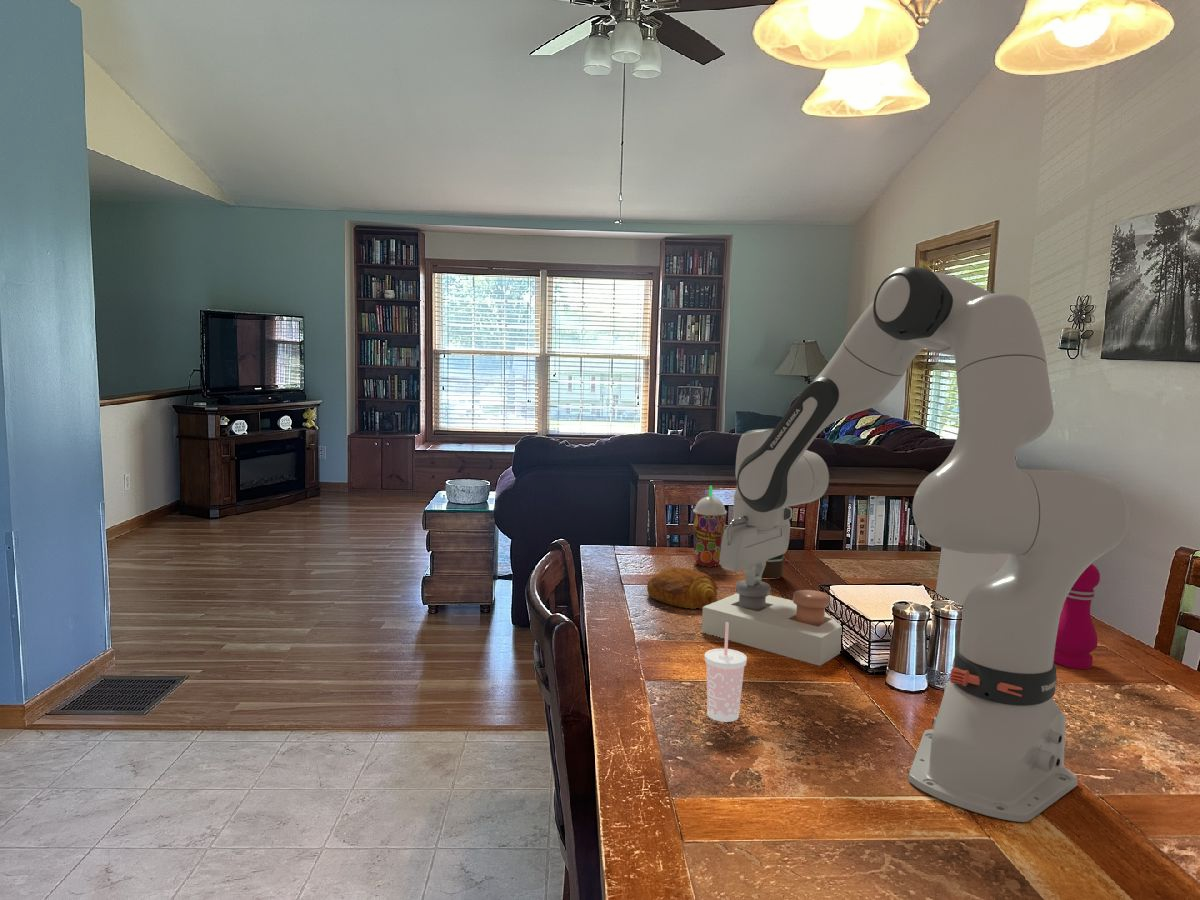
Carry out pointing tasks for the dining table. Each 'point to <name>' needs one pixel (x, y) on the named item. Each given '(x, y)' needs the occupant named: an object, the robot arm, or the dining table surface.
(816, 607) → the terracotta button
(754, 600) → the graphite button
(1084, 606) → the pepper mill
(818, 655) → the button panel
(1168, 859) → the dining table surface
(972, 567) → the milk
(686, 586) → the croissant
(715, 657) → the beverage cup
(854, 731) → the dining table surface
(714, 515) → the smoothie
